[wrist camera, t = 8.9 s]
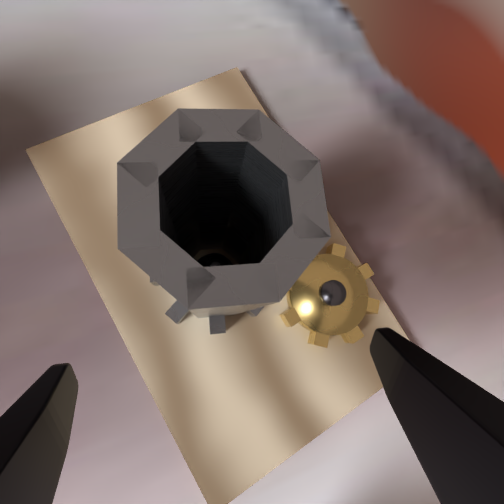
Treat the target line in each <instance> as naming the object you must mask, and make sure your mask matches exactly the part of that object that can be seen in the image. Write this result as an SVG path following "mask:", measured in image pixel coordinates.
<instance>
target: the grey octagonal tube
mask: <svg viewBox="0 0 504 504" xmlns="http://www.w3.org/2000/svg"><path fill="white" fill-rule="evenodd" d="M330 238H331V233H330V226H329V220H328V213H327V206H326V199H325V192H324V186H323V179H322V172H321V165H320V160H319V159H318V158H317V157H316V156H314V155H313V154H312V153H311V152H310V151H308V150H307V149H306V148H305V147H304V146H302V145H301V144H300V143H299V142H298V141H296V140H295V139H294V138H293V137H292V136H290V135H289V134H288V133H287V132H285V131H284V130H283V129H282V128H281V127H279V126H278V125H277V124H276V123H275V122H273V121H272V120H271V119H270V118H269V117H267V116H266V115H265V114H264V113H263V112H261V111H260V110H259V109H186V108H178V109H177V110H176V111H174V112H173V113H172V114H171V115H170V116H169V117H168V118H167V119H165V120H164V121H163V122H162V123H161V124H160V125H159V126H158V127H157V128H155V129H154V130H153V131H152V132H151V133H150V134H149V135H148V136H146V137H145V138H144V139H143V140H142V141H141V142H140V143H139V144H137V145H136V146H135V147H134V148H133V149H132V150H131V151H130V152H128V153H127V154H126V155H125V156H124V157H123V158H122V159H121V160H119V161H118V162H117V246H118V250H120V251H121V252H122V253H123V254H124V255H125V256H127V257H128V258H129V259H130V260H131V261H132V262H133V263H135V264H136V265H137V266H138V267H139V268H140V269H142V270H143V271H144V272H145V273H146V274H147V275H148V276H150V283H151V284H153V285H154V286H159V285H160V286H161V287H162V288H164V289H165V290H166V291H167V292H168V293H169V294H170V295H172V296H173V297H174V298H175V299H176V302H175V303H174V304H173V305H172V306H171V307H170V308H169V309H168V310H167V312H166V313H165V314H166V315H167V316H168V317H169V318H170V319H172V320H173V321H174V322H175V323H176V324H179V323H180V322H181V321H182V320H183V319H184V318H185V316H186V315H187V314H188V313H189V312H191V313H192V314H194V315H195V316H196V317H197V318H207V317H209V330H210V334H220V333H226V326H225V316H229V315H235V314H239V313H242V312H247V313H248V314H249V315H250V316H251V317H256V316H257V315H258V314H259V313H260V311H261V310H262V309H263V308H264V306H267V305H270V304H274V303H277V302H280V301H281V300H282V298H283V297H284V296H285V295H286V293H287V292H288V291H289V290H290V288H291V287H292V286H293V285H294V283H295V282H296V281H297V279H298V278H299V277H300V276H301V274H302V273H303V272H304V271H305V269H306V268H307V267H308V266H309V264H310V263H311V262H312V260H313V259H314V258H315V257H316V255H317V254H318V253H319V252H320V250H321V249H322V248H323V247H324V245H325V244H326V243H327V241H328V240H329V239H330ZM206 249H223V250H224V251H225V252H226V253H228V254H229V255H230V256H231V257H232V258H234V259H235V260H236V261H237V262H238V265H226V266H211V267H203V266H202V265H200V264H199V263H198V262H197V261H196V260H195V259H193V257H194V256H195V255H196V254H197V253H198V252H199V251H200V250H206Z"/></svg>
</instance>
